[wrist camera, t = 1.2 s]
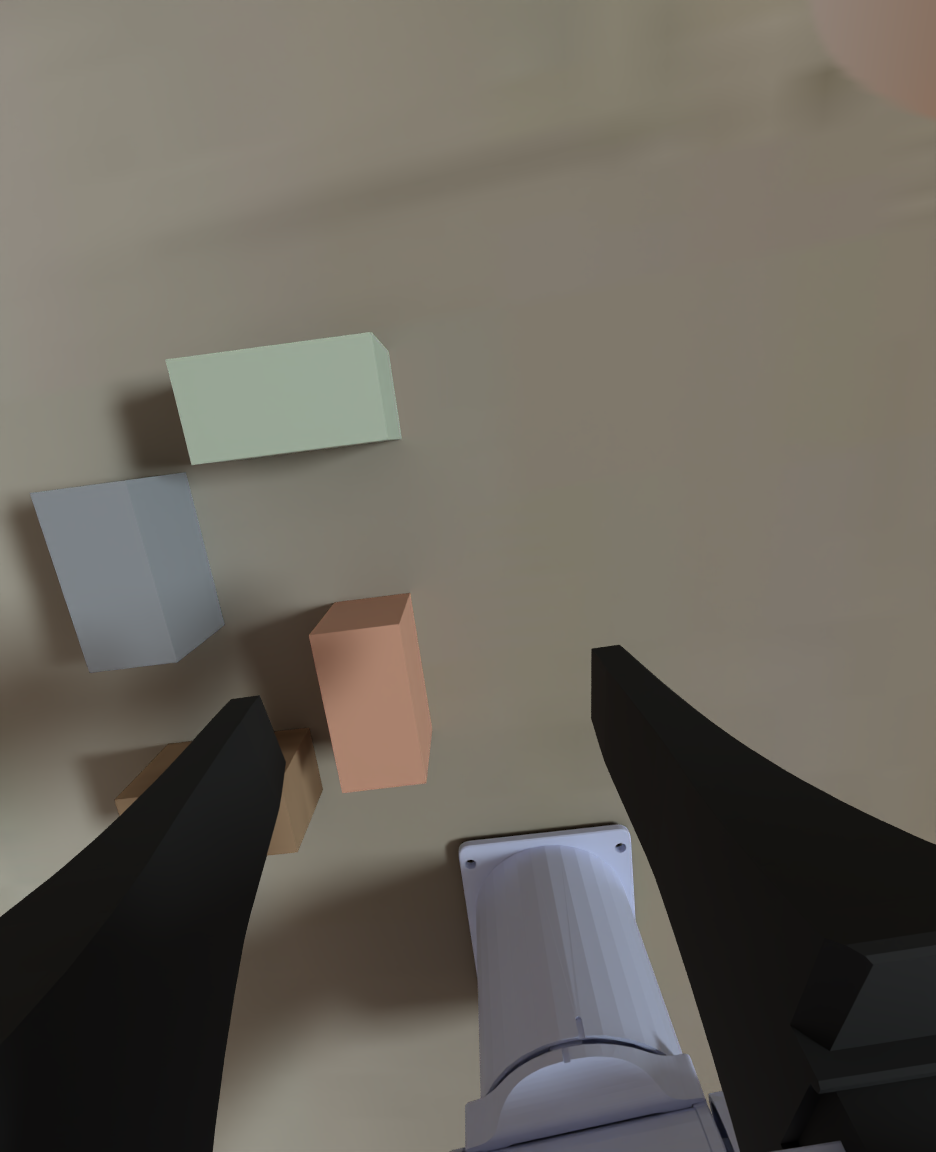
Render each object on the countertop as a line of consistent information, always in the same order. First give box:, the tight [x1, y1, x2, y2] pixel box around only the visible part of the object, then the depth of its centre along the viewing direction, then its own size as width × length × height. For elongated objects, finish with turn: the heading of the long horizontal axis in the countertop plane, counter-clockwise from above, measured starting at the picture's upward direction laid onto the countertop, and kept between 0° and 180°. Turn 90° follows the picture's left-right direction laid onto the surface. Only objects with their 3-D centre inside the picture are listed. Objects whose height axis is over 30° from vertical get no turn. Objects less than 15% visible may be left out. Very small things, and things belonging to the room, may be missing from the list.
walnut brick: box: [115, 728, 323, 855], centre depth 23 cm, size 6×3×4 cm, turn 97°
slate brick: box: [30, 472, 225, 673], centre depth 20 cm, size 6×3×4 cm, turn 7°
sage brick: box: [166, 332, 402, 465], centre depth 19 cm, size 6×3×4 cm, turn 97°
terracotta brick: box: [309, 593, 432, 793], centre depth 22 cm, size 6×3×4 cm, turn 7°
